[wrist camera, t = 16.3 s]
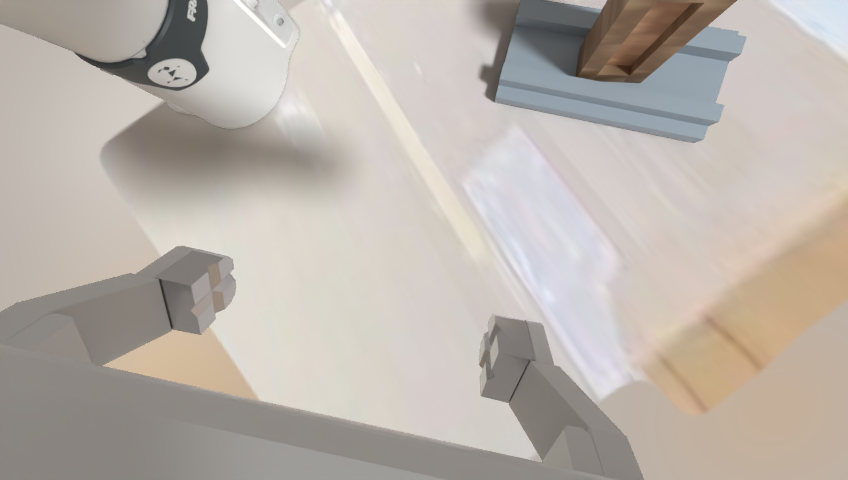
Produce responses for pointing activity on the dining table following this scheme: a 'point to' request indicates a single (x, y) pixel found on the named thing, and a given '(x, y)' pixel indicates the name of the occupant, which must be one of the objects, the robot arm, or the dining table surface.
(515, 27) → the picture stand
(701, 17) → the frame
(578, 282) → the dining table surface
